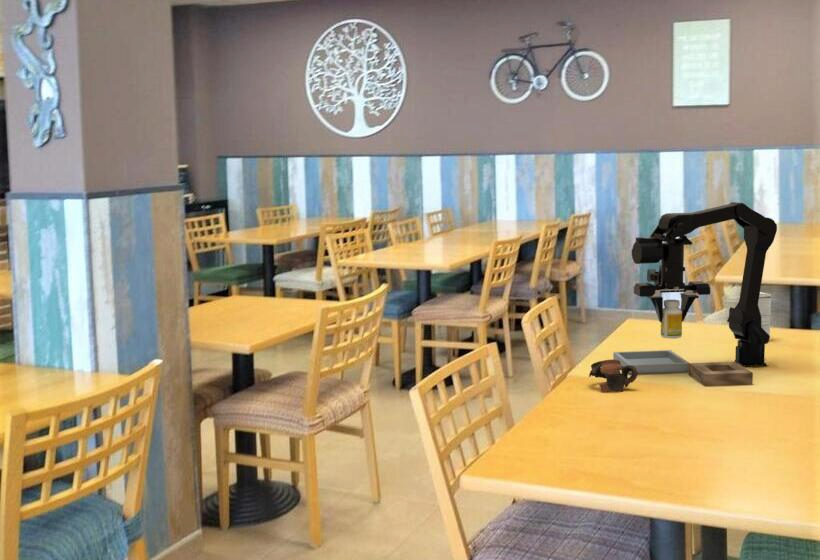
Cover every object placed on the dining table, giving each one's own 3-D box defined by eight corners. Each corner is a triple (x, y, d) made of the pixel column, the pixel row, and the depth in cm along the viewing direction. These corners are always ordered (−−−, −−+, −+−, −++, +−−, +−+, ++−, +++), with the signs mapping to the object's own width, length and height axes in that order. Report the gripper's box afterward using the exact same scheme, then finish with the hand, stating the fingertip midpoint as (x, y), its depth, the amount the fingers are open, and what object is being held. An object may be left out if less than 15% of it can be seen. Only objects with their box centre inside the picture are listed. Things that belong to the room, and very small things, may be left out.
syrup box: (741, 339, 293) (742, 292, 290) (758, 338, 294) (759, 290, 292) (753, 343, 287) (755, 294, 285) (770, 341, 289) (772, 293, 287)
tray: (670, 358, 270) (670, 350, 270) (689, 372, 255) (689, 363, 254) (613, 360, 270) (613, 352, 269) (629, 374, 254) (629, 365, 253)
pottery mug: (588, 394, 238) (583, 362, 241) (598, 402, 246) (592, 371, 249) (637, 385, 234) (631, 352, 237) (645, 393, 242) (639, 361, 245)
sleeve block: (734, 372, 253) (734, 361, 253) (752, 384, 241) (752, 372, 241) (688, 374, 253) (688, 363, 252) (704, 386, 241) (705, 374, 240)
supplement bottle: (656, 337, 256) (656, 301, 255) (668, 333, 260) (668, 298, 258) (674, 339, 252) (674, 303, 251) (686, 336, 256) (686, 300, 254)
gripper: (695, 257, 262) (694, 314, 264) (627, 259, 260) (626, 317, 263) (711, 262, 251) (710, 322, 253) (640, 264, 249) (639, 324, 252)
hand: (671, 321), depth 255 cm, fingers closed on supplement bottle, 5 cm apart
